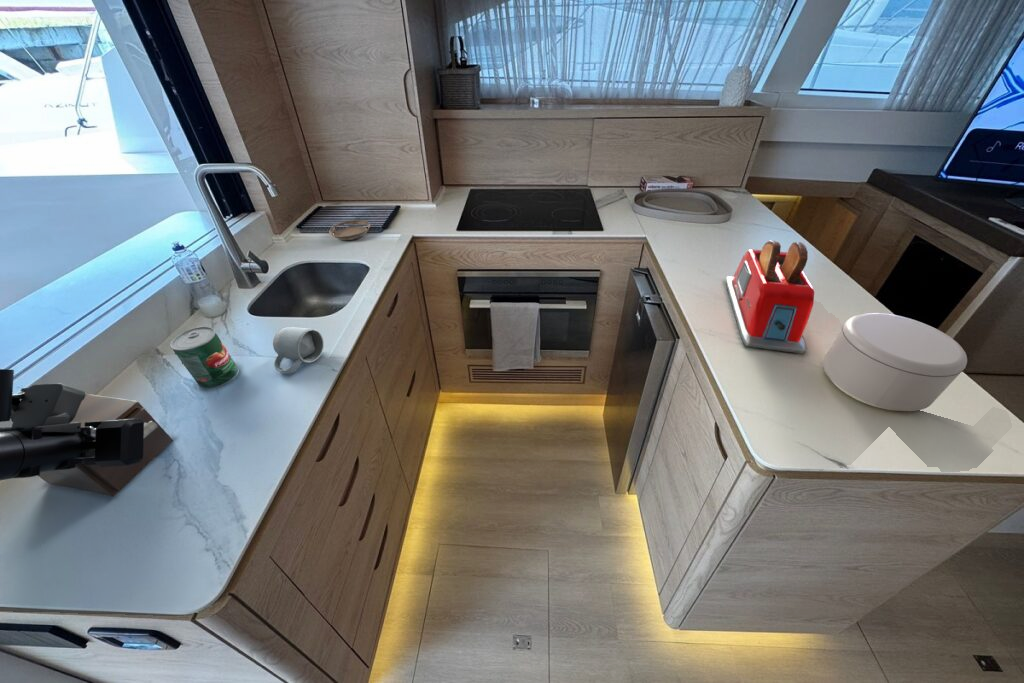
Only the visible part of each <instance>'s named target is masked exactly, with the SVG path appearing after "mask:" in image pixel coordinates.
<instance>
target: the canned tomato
mask: <svg viewBox="0 0 1024 683" xmlns="http://www.w3.org/2000/svg"><path fill="white" fill-rule="evenodd" d="M169 347H170V349H171V350H172V351H173V352H174V354H175V355H176V356H177V358H178V359H179V360H180V362H181V363H182V364H183V366H184V367H185V369H186V370H187V372H188V373H189V374H190V375H191V377H192V378H193V380H194V381H195V382H196V383H197V385H198V387H199V388H201V389H202V390H214V389H218V388H221V387H223V386H226V385H228V384H229V383H231V382H233V380H235V378H237V376H238V374H239V372H240V369H239V366H237V364H236V362H235V361H234V359H233V358H232V355H231V354H230V353H229V351H228V349H227V348H226V347H225V345H224V343H223V342H222V340H221V339H220V337H219V335H218V334H217V332H216V330H215V328H213V327H211V326H197V327H193V328H190V329H187V330H185V331H183V332H181V333H179V334H178V335H176V336H175V337H173V339H172V340H171V341H170V344H169Z"/></svg>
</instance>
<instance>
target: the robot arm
mask: <svg viewBox="0 0 1024 683" xmlns="http://www.w3.org/2000/svg"><path fill="white" fill-rule="evenodd" d="M14 375H15V369H7V368H3V369H2V368H0V423H3V422H10V421H11V423H12V425H11V426H3V427H0V481H6V480H11V479H24V478H32V477H39V476H38V475H40V472H45V471H50V470H65V469H71V468H76V464H78V463H80V462H82V461H83V465H97V464H98V465H99V466H100V467H113V466H127V465H131V464H136V463H139V462H140V461H141V460H142V459H143V443H144V422H143V421H142V420H141V419H140V418H137V419H121V420H110V421H97V422H85V427H81V422H76V423H70V422H71V421H72V420H73V419H74V418H75V416H76V414H77V411H78V409H79V406H80V404H81V402H82V400H84V398H85V394H86V391H85V390H82V389H79V388H76V387H72V386H69V385H66V384H64V383H61V382H59V383H56V382H55V383H44V384H32V385H31V386H29V387H21V389H20V392H21V393H13V390H14Z"/></svg>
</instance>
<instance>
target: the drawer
mask: <svg viewBox="0 0 1024 683" xmlns="http://www.w3.org/2000/svg"><path fill="white" fill-rule="evenodd" d="M149 414H150V413H149V412H148V410H146V408H144V409H143V408H138V409H136V410H135V411H134V412H133V413H130V414H128V415H127V416H126V417H125V418H123V419H137V418H140V419H141V420H142V421H143V422H144V443H143V459H142V460H141V461H140V462H139V463H136V464H131V465H127V466H113V467H100V466H99V465H98V464H97V465H84V466H85V467H86V468H87V469H89V470H90V471H91V472H92V473H93V474H95V475H96V476H97V477H98V478H99V479H101V480H102V481H103V482H104V483H105V484H107V485H108V486H109V487H110V488H111V489H113V490H114V491H119V492H121V491H122V490H123V489H124V488H126V486H127V485H128V484H130V482H131V481H133V480H134V479H135V478H136V477H137V476H138V475H139V474H140V473H141V472H142V471H143V470H144V469H145V468H146V467H147V466H149V464H151V463H152V461H154V460H155V459H156V458H157V457H158V456H159V455H160V454H161V453H162V452H163V451H164V450H165V449H166V448H167V447H168V446H169V445H171V443H172V442H174V439H171V438H172V437H171V436H170V435H169V434H168V433H167V432H166V430H165V429H164V428H163V427H162V426H161V425H160V424H159V423H158V422H157V421H156V419H154V417H153V416H152V415H151V414H150V415H151V416H152V417H153V418H152V417H151V416H150V415H149ZM158 424H159V425H160V426H161V427H162V428H163V429H162V428H161V427H160V426H159V425H158ZM168 435H169V436H170V437H171V438H170V437H169V436H168ZM80 463H81V464H82V465H83V461H82V462H80Z"/></svg>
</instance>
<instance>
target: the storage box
mask: <svg viewBox="0 0 1024 683" xmlns="http://www.w3.org/2000/svg"><path fill="white" fill-rule="evenodd" d="M138 408H143V409H145V407H144V406H143V405H142V404H141V403H140V402H139V401H137V400H130V399H124V398H118V397H117V398H116V397H110V396H102V395H101V396H100V395H95V394H89V393H85V398H84V400H82V402H81V404H80V406H79V409H78V411H77V414H76V416H75V418H74V419H73V420H72V421H71V422H70V423H76V422H81V427H85V422H97V421H110V420H121V419H123V418H125V417H126V416H127V415H128V414H130V413H133V412H134V411H135V410H136V409H138ZM149 415H150V416H151V417H152V418H153V419H154V417H153V416H152V415H151V414H150V413H149ZM158 425H159V426H160V427H161V428H162V429H163V430H164V428H163V427H162V426H161V425H160V424H159V423H158ZM168 436H169V437H170V438H171V439H172V437H171V436H170V435H169V434H168ZM172 440H173V439H172ZM37 477H39V478H40V479H42V480H43V481H44V482H45V483H47V484H49V485H52V486H56V487H63V488H66V489H73V490H77V491H83V492H87V493H93V494H98V495H103V496H108V497H115V496H116V495H117V494H118V493H120V491H114V490H113V489H111V488H110V487H109V486H108V485H107V484H105V483H104V482H103V481H102V480H101V479H99V478H98V477H97V476H96V475H95V474H93V473H92V472H91V471H90V470H89V469H87V468H86V467H85V466H84V465H82V464H81V463H78V464H76V468H71V469H65V470H50V471H45V472H40V475H38V476H37Z"/></svg>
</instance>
